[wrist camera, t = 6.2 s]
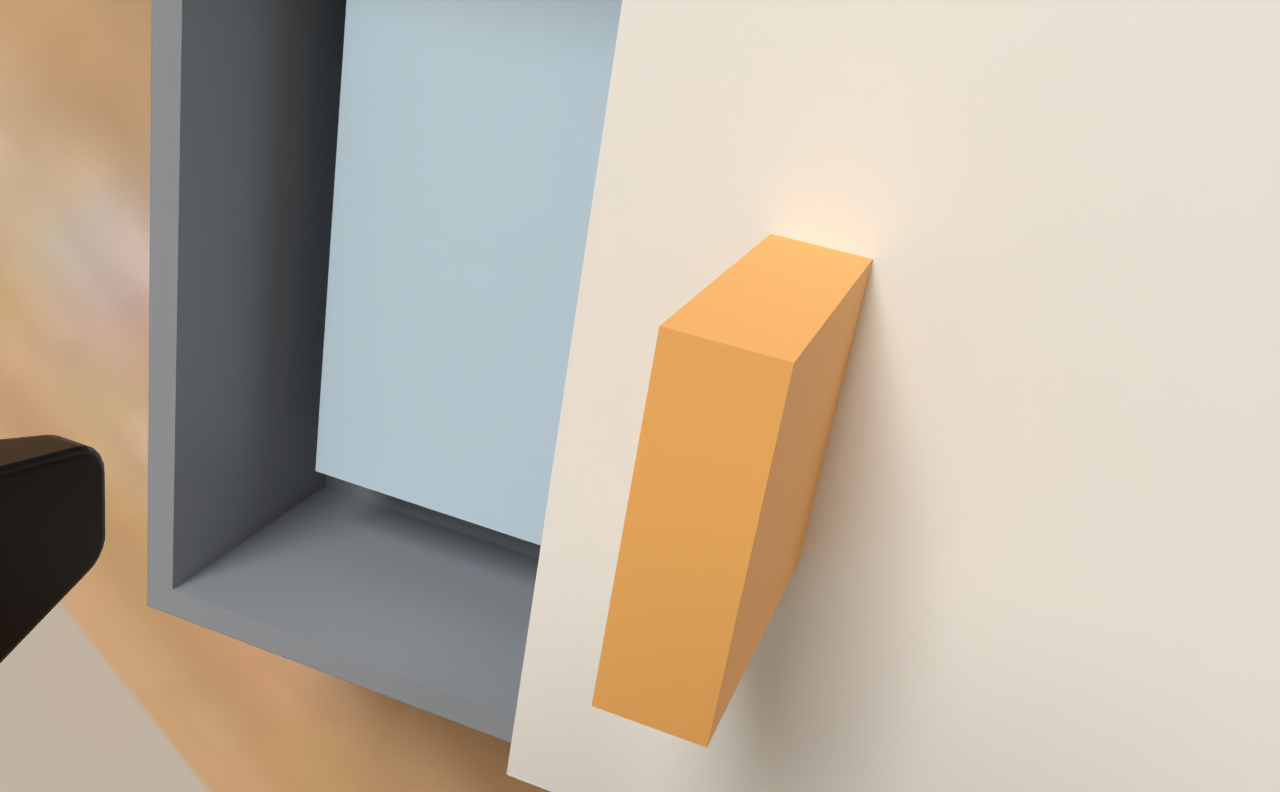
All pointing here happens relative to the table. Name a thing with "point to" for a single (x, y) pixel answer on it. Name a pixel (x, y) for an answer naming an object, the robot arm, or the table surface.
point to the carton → (367, 325)
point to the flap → (921, 406)
